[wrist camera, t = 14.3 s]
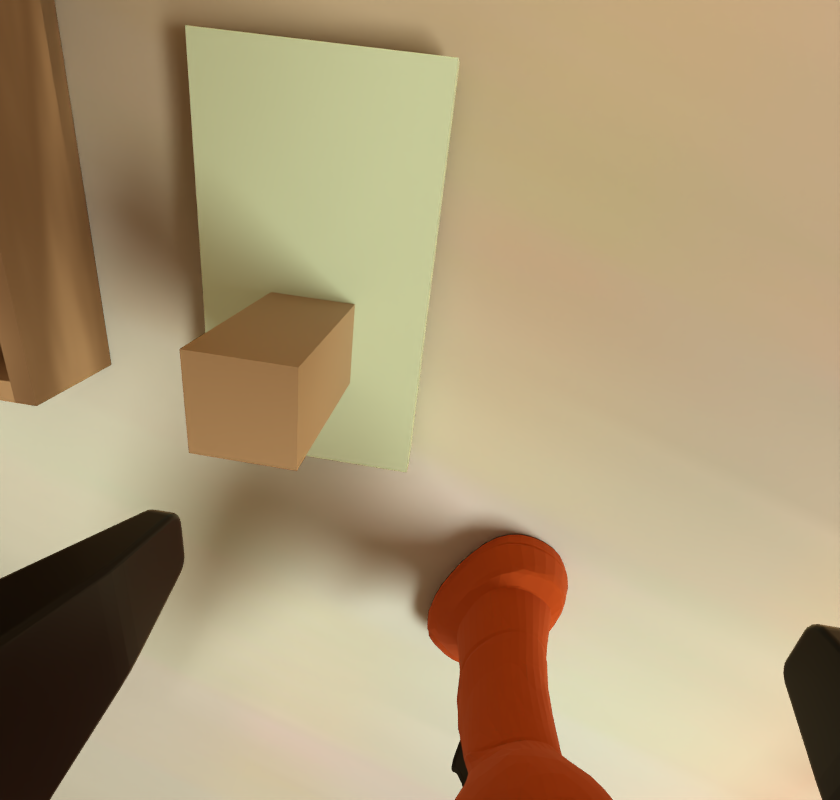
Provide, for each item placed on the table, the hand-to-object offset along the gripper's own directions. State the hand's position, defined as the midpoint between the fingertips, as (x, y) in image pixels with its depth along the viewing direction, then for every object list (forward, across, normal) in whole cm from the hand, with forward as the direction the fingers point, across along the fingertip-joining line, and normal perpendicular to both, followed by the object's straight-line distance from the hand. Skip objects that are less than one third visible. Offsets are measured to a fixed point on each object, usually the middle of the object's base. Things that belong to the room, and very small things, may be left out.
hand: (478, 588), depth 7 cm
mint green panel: (+12, +6, -1) cm, 14 cm away
